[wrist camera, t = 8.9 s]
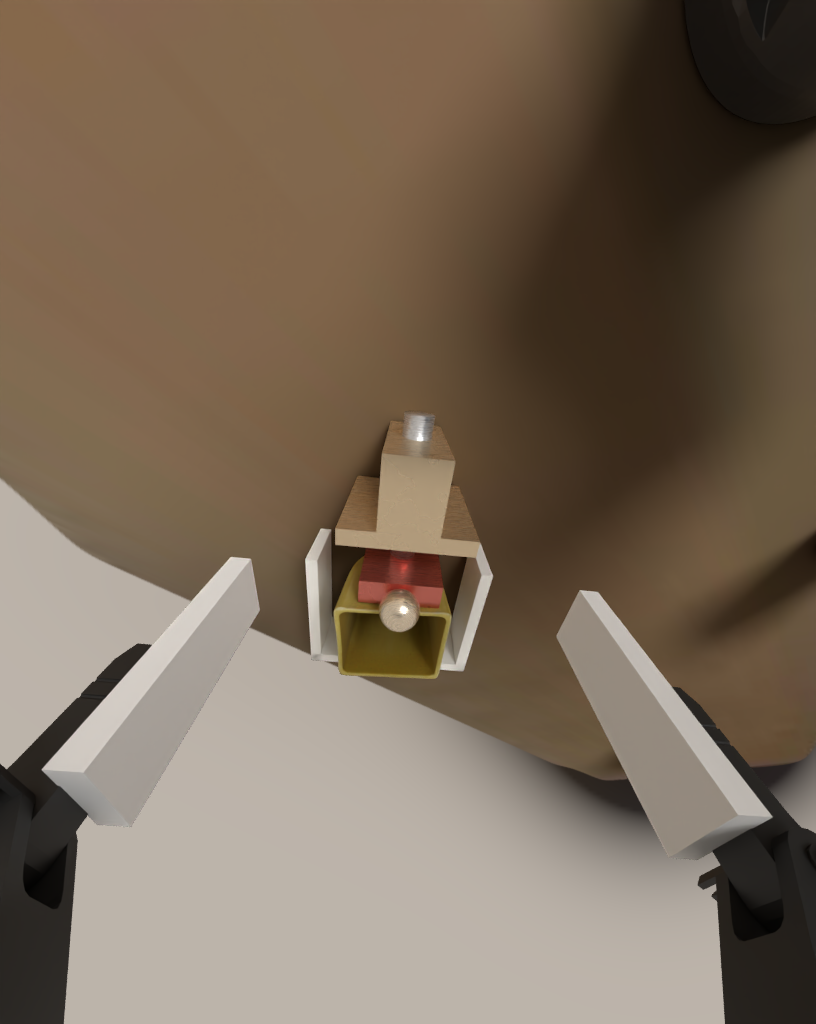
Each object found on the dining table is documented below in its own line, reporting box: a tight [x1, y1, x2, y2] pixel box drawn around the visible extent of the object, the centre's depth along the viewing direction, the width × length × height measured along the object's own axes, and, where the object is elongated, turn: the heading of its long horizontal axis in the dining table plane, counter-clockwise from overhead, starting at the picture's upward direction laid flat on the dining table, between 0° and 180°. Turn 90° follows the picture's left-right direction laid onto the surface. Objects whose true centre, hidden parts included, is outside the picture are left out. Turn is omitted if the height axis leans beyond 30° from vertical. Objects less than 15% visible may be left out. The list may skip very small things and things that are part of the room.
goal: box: [305, 529, 493, 671], centre depth 30 cm, size 16×13×5 cm
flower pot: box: [333, 556, 452, 679], centre depth 28 cm, size 9×9×9 cm
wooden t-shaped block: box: [335, 411, 480, 632], centre depth 21 cm, size 9×13×11 cm
